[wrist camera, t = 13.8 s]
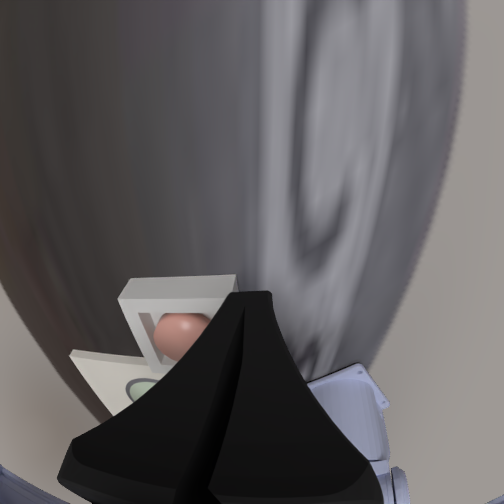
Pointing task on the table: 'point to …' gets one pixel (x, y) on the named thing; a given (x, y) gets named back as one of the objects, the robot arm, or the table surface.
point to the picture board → (115, 377)
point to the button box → (170, 307)
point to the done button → (178, 333)
